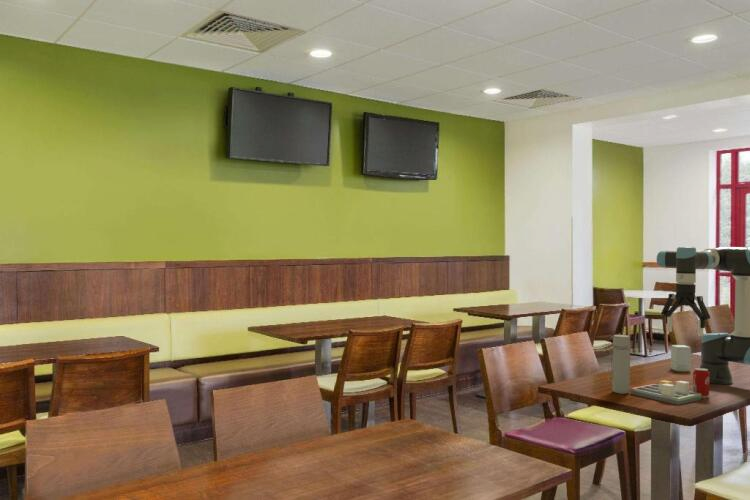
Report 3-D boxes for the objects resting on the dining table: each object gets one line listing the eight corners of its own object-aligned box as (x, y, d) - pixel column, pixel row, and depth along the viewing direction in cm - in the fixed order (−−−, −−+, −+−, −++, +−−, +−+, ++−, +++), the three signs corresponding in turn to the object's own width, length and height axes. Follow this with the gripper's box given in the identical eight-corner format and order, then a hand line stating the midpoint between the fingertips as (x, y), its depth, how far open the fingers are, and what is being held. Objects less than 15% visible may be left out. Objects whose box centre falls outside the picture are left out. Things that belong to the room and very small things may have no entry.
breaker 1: (666, 395, 276) (666, 383, 276) (675, 397, 272) (675, 385, 272) (661, 396, 273) (661, 384, 273) (670, 398, 270) (670, 386, 270)
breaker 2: (680, 392, 282) (680, 380, 282) (689, 394, 278) (689, 382, 278) (675, 393, 279) (675, 381, 279) (684, 395, 276) (684, 383, 276)
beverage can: (710, 398, 277) (711, 370, 277) (695, 397, 278) (695, 369, 278) (706, 395, 283) (707, 367, 283) (690, 394, 284) (691, 367, 284)
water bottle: (630, 391, 289) (631, 335, 288) (629, 395, 282) (630, 337, 281) (608, 389, 293) (609, 333, 292) (606, 392, 285) (607, 336, 285)
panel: (653, 389, 293) (653, 383, 293) (701, 399, 275) (701, 393, 275) (630, 393, 284) (630, 388, 284) (678, 404, 266) (678, 398, 266)
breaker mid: (663, 391, 282) (664, 380, 282) (672, 393, 279) (672, 381, 279) (658, 392, 280) (658, 381, 280) (667, 394, 277) (667, 382, 277)
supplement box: (690, 371, 336) (691, 347, 335) (676, 371, 336) (677, 347, 335) (684, 368, 343) (684, 344, 343) (670, 368, 343) (670, 344, 343)
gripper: (653, 281, 282) (652, 330, 282) (710, 285, 261) (709, 338, 261) (663, 281, 286) (662, 329, 286) (720, 285, 265) (719, 336, 266)
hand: (684, 333), depth 274 cm, fingers open, 13 cm apart
